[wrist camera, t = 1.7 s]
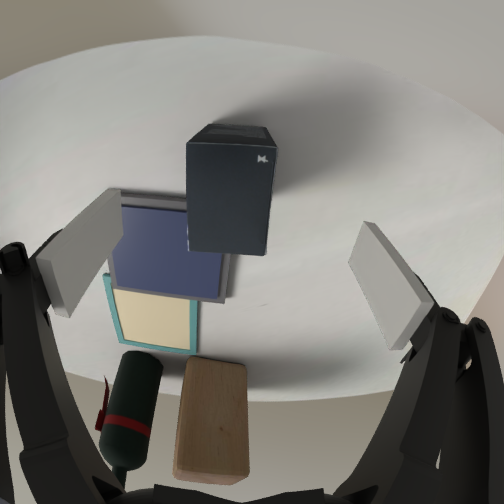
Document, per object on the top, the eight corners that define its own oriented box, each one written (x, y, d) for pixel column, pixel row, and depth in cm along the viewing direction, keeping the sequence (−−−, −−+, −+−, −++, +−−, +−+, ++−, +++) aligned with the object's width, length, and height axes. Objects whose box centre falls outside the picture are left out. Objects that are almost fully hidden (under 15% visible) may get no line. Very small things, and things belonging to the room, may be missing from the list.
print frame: (120, 340, 40) (119, 342, 39) (103, 273, 32) (102, 275, 32) (196, 352, 41) (196, 355, 41) (198, 286, 34) (197, 289, 33)
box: (207, 123, 24) (184, 140, 15) (266, 126, 24) (282, 145, 15) (204, 198, 28) (186, 254, 19) (259, 201, 28) (267, 258, 19)
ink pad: (115, 283, 33) (111, 290, 32) (103, 191, 27) (98, 196, 25) (224, 298, 35) (224, 305, 34) (237, 204, 28) (237, 209, 27)
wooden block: (248, 363, 43) (251, 477, 26) (234, 390, 48) (234, 486, 31) (188, 353, 41) (173, 470, 24) (182, 381, 46) (171, 479, 29)
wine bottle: (106, 345, 41) (62, 502, 15) (160, 353, 41) (132, 528, 16) (117, 369, 45) (85, 509, 19) (166, 377, 46) (147, 527, 20)
